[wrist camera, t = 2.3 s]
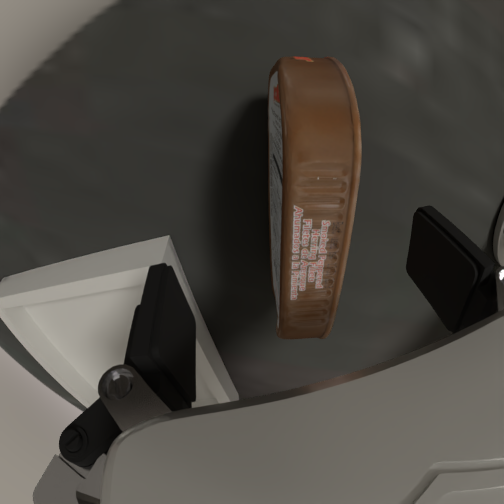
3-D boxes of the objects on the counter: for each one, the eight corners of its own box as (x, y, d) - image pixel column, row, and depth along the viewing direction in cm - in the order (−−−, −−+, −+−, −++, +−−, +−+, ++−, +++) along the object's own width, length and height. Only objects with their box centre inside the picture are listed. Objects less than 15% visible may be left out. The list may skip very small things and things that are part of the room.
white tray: (169, 235, 19) (161, 263, 16) (238, 394, 31) (240, 418, 29) (3, 277, 20) (-13, 300, 17) (108, 402, 32) (104, 422, 29)
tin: (302, 275, 22) (333, 367, 15) (261, 278, 22) (277, 375, 15) (311, 61, 14) (385, 55, 7) (255, 59, 13) (284, 43, 6)
